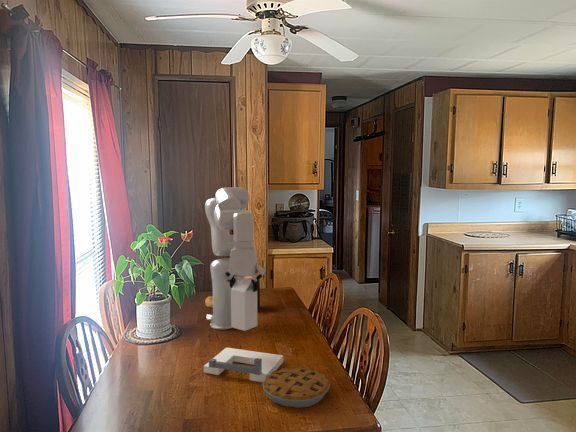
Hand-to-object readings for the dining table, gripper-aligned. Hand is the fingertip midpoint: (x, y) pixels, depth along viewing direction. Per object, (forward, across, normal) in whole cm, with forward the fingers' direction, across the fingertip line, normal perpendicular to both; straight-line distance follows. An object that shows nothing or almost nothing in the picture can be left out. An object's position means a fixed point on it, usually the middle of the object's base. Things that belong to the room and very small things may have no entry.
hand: (244, 289), depth 171 cm
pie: (+28, +26, -18) cm, 43 cm away
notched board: (+27, +2, -6) cm, 28 cm away
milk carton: (+15, 0, 0) cm, 15 cm away
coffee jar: (+27, -23, +58) cm, 68 cm away
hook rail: (+25, +2, -14) cm, 29 cm away
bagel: (+27, -44, +59) cm, 78 cm away
